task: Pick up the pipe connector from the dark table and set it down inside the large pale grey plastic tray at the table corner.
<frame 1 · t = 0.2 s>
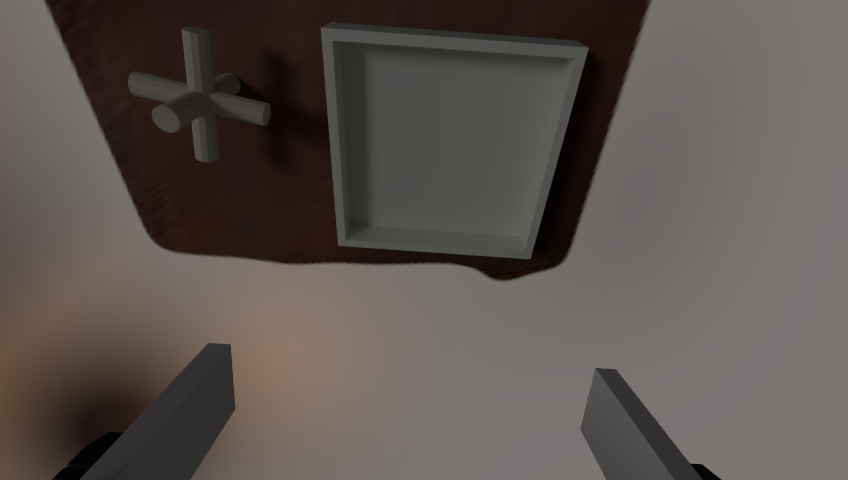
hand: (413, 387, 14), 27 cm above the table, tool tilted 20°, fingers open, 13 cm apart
tray: (442, 147, 38), on the table
pipe connector: (231, 83, 35), on the table
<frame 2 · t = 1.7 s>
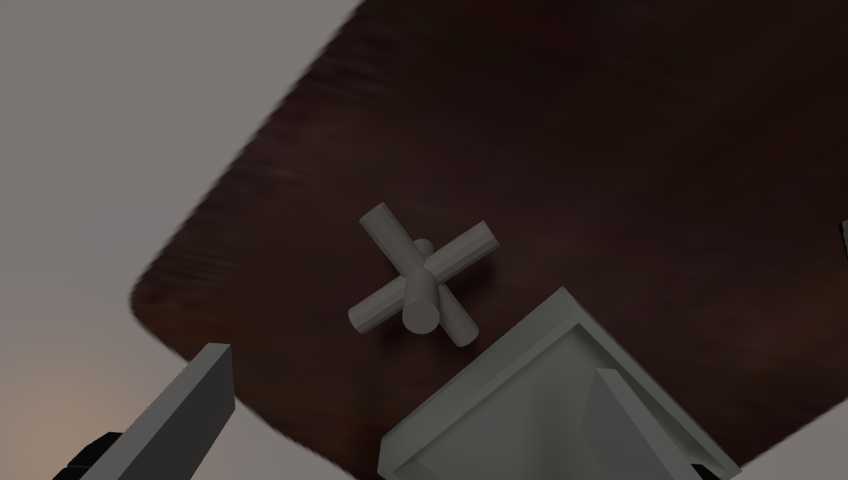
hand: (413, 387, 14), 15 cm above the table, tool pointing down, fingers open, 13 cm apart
tray: (546, 436, 34), on the table
pipe connector: (422, 249, 29), on the table
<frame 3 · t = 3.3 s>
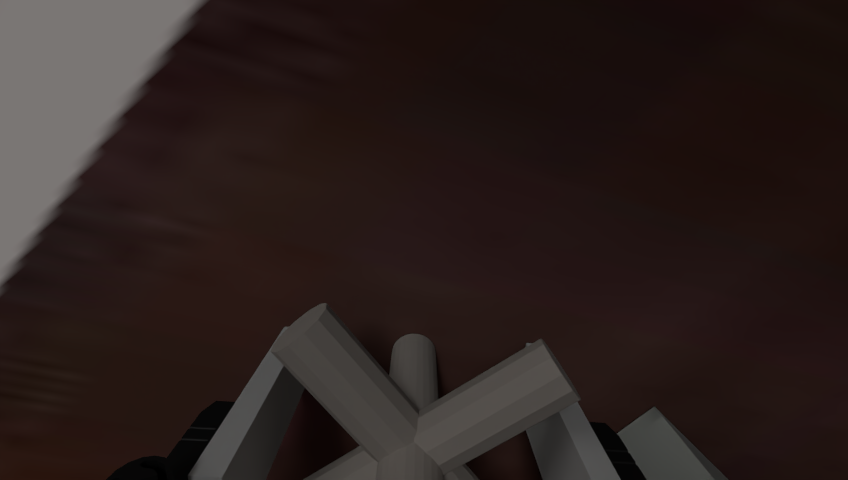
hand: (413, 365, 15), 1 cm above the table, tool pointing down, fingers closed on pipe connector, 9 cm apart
pipe connector: (414, 350, 16), on the table, touching gripper
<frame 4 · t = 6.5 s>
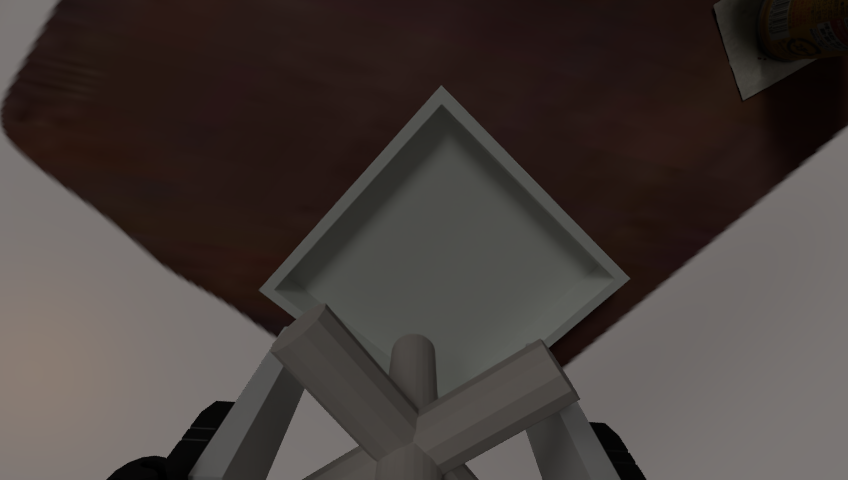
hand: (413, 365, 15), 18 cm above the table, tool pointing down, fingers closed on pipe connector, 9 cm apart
tray: (442, 267, 33), on the table
pipe connector: (413, 350, 16), point 16 cm above the table, touching gripper
condiment: (781, 22, 28), on the table
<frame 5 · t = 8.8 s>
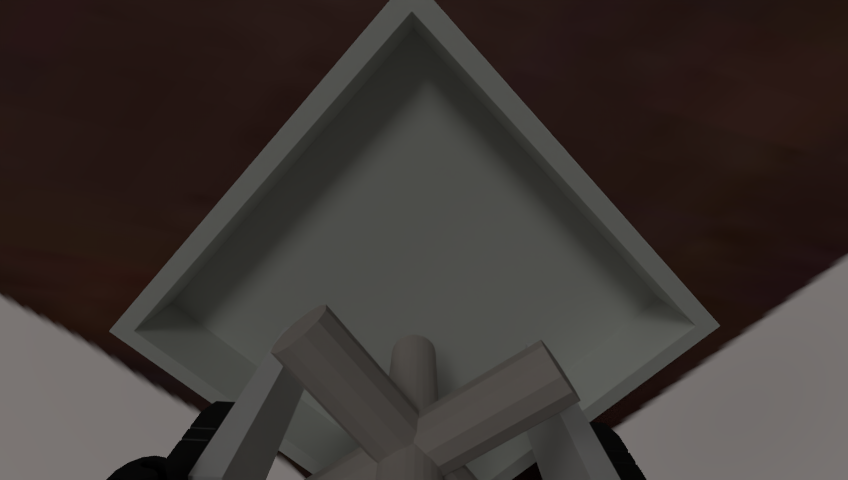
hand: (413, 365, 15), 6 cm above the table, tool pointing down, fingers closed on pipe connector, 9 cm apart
tray: (416, 295, 21), on the table
pipe connector: (414, 351, 16), point 5 cm above the table, touching gripper
when the fingers open (4 cm above the table, at t = 9.8 s): pipe connector drops 2 cm, resting on tray.
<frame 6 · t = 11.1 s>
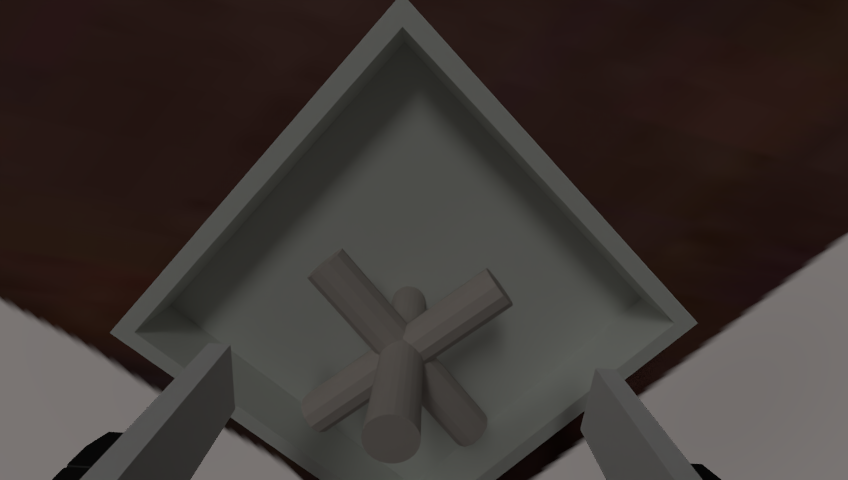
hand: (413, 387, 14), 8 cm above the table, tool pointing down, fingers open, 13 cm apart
tray: (409, 297, 22), on the table
pipe connector: (409, 300, 22), resting on tray
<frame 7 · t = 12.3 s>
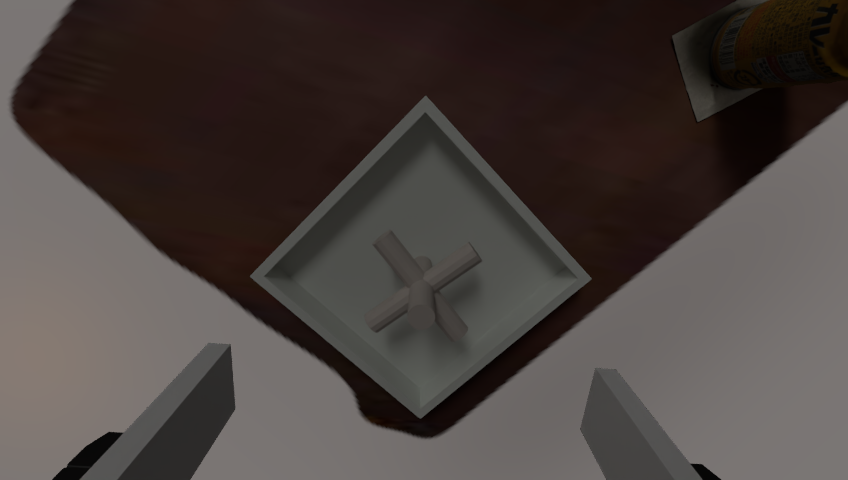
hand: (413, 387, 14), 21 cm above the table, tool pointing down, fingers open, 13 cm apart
tray: (421, 263, 36), on the table
pipe connector: (421, 264, 35), resting on tray
condiment: (731, 54, 31), on the table
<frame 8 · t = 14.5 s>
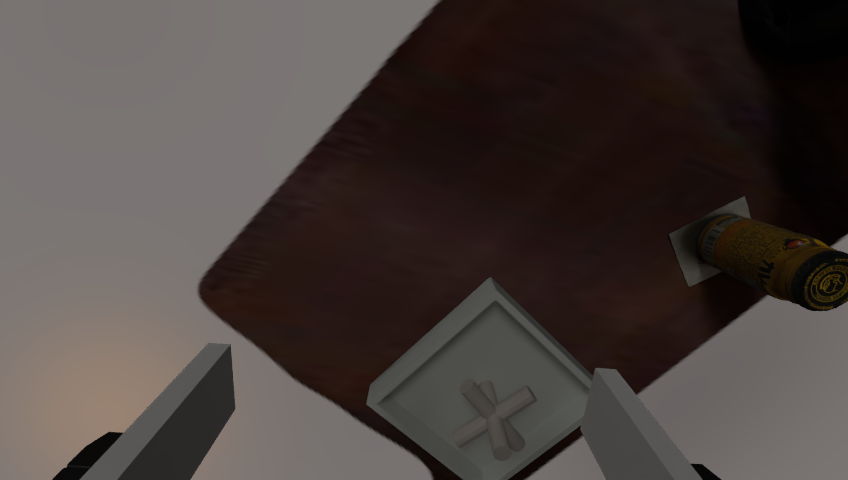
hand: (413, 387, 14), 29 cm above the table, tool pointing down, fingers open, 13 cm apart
tray: (485, 383, 48), on the table
pipe connector: (485, 385, 48), resting on tray
condiment: (712, 242, 43), on the table
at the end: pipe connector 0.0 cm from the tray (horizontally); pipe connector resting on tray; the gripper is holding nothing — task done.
